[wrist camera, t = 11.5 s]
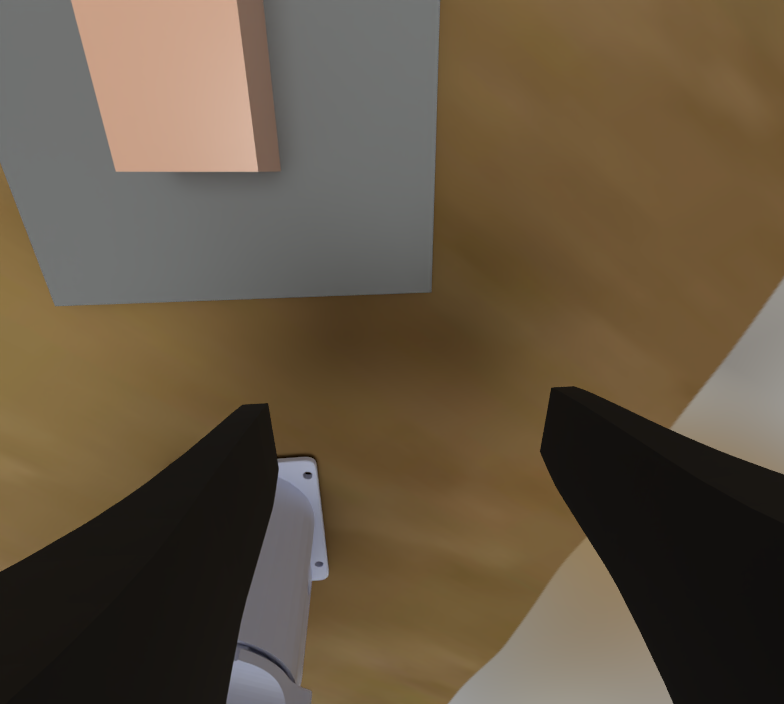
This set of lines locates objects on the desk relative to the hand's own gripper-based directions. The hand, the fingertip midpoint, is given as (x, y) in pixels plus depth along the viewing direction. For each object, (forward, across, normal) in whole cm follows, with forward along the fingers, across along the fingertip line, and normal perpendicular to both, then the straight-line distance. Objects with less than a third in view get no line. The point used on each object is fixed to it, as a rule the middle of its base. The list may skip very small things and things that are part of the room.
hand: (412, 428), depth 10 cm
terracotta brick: (+9, +6, -9) cm, 14 cm away
